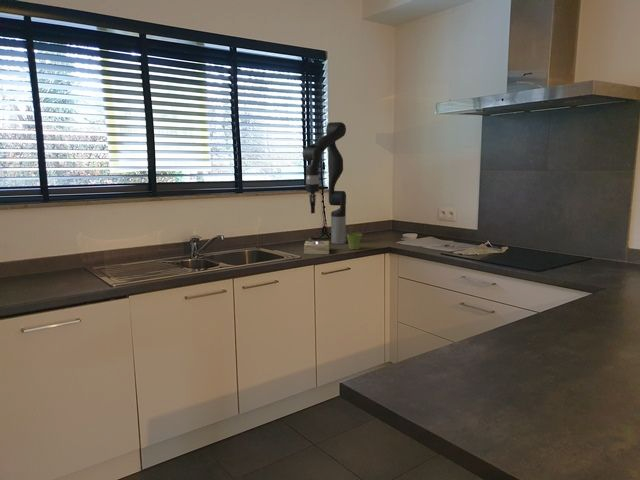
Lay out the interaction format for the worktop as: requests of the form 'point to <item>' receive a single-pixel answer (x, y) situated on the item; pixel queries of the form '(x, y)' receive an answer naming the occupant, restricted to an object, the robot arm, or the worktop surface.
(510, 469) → the worktop surface
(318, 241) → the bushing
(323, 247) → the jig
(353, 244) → the plant pot
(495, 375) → the worktop surface
